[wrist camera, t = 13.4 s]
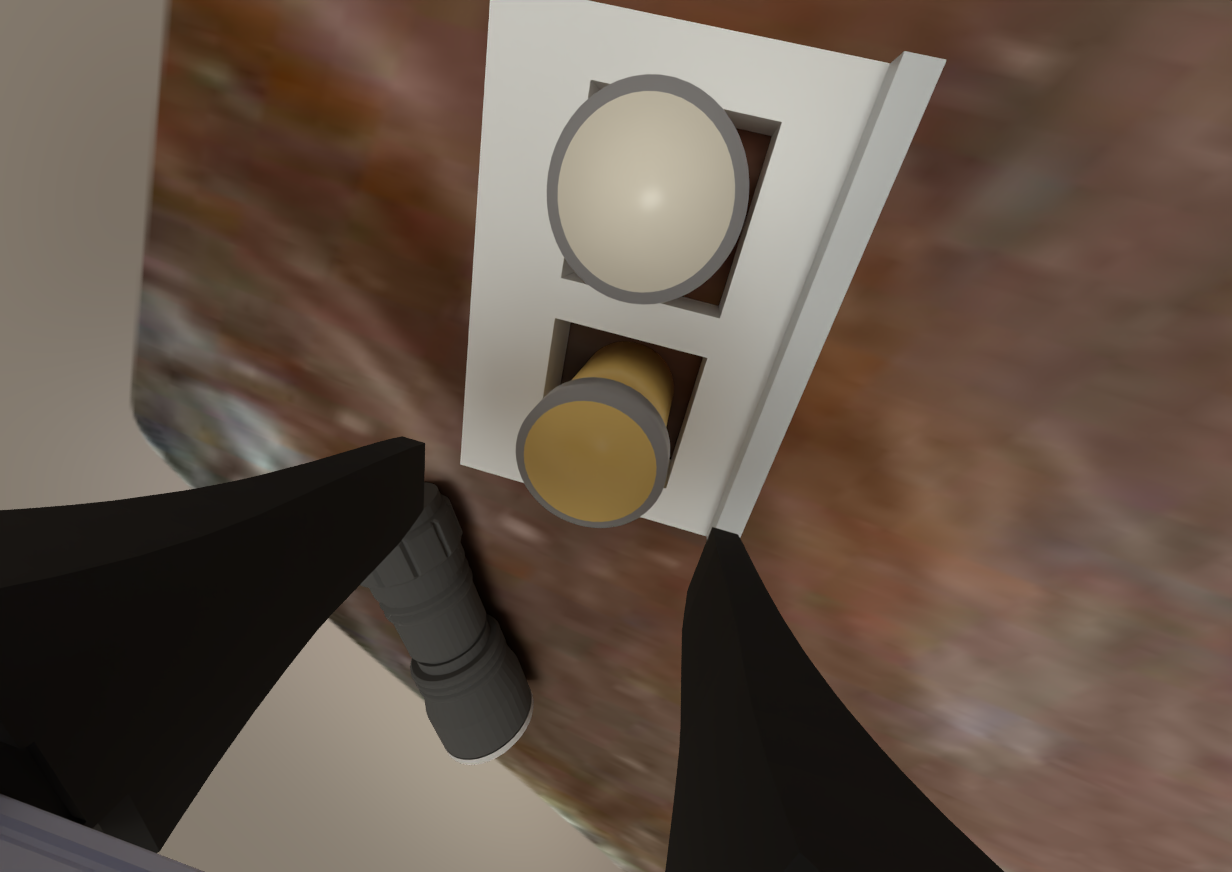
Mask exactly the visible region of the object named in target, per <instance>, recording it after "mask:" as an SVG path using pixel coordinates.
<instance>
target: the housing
mask: <svg viewBox="0 0 1232 872" xmlns="http://www.w3.org/2000/svg"><path fill="white" fill-rule="evenodd" d="M945 63H946V60H945V59H940V58H935V57H931V56H926V55H921V54H916V53H911V52H906V51H904V52H903V53H902V54H901V55H899V56H898V57H897V58H896V59H895V60H894V61H892V62H891V63H885V62H881V61H876V60H871V59H866V58H861V57H857V56H852V55H847V54H842V53H837V52H833V51H828V50H823V49H818V48H813V47H809V46H804V45H799V44H794V43H790V42H785V41H780V40H775V39H770V38H766V37H761V36H756V35H751V34H746V33H742V32H737V31H732V30H727V29H722V28H718V27H713V26H708V25H703V24H699V23H694V22H689V21H684V20H679V19H675V18H670V17H665V16H660V15H655V14H651V13H646V12H641V11H636V10H631V9H627V8H622V7H617V6H612V5H607V4H603V3H598V2H593V1H588V0H490V10H489V26H488V41H487V57H486V72H485V88H484V103H483V119H482V135H481V150H480V166H479V181H478V197H477V212H476V228H475V244H474V259H473V275H472V290H471V306H470V322H469V337H468V353H467V368H466V384H465V399H464V415H463V431H462V446H461V462H460V464H461V465H464V466H468V467H471V468H475V469H478V470H481V471H485V472H488V473H492V474H495V475H499V476H502V477H505V478H509V479H512V480H516V481H519V482H522V483H524V482H523V480H522V478H521V475H520V473H519V470H518V466H517V462H516V441H517V436H518V433H519V430H520V427H521V425H522V423H523V421H524V420H525V418H526V417H527V416H528V414H529V413H530V412H531V411H532V410H533V409H534V407H535V406H536V405H537V404H538V403H539V402H540V401H541V400H542V399H543V398H544V397H545V396H546V395H547V394H548V393H549V392H550V391H551V390H553V389H554V388H556V387H557V386H559V385H561V379H562V373H563V367H564V361H565V355H566V349H567V343H568V337H569V331H570V325H571V322H572V323H576V324H580V325H584V326H588V327H591V328H595V329H599V330H603V331H607V332H610V333H614V334H618V335H622V336H626V337H629V338H633V339H637V340H641V341H645V342H648V343H652V344H656V345H660V346H664V347H667V348H671V349H675V350H679V351H683V352H686V353H690V354H694V355H698V356H702V357H703V359H702V362H701V365H700V368H699V372H698V375H697V378H696V381H695V384H694V388H693V391H692V394H691V397H690V400H689V404H688V407H687V410H686V413H685V417H684V420H683V423H682V426H681V429H680V433H679V436H678V439H677V442H676V445H675V449H674V452H673V455H672V458H671V460H670V459H669V464H668V470H667V476H666V480H665V485H664V487H663V490H662V493H661V495H660V496H659V498H658V500H657V501H656V502H655V504H654V505H653V506H652V507H651V508H650V509H649V510H648V511H647V512H646V513H645V514H643V515H642V516H640V517H642V518H646V519H649V520H653V521H656V522H659V523H663V524H666V525H670V526H673V527H676V528H680V529H683V530H687V531H690V532H694V533H697V534H700V535H704V536H707V539H708V537H709V534H710V531H711V529H712V527H714V528H718V529H721V530H725V531H728V532H732V533H735V534H738V535H739V537H741V535H742V532H743V530H744V528H745V525H746V523H747V521H748V518H749V516H750V514H751V511H752V509H753V507H754V505H755V502H756V500H757V498H758V495H759V493H760V491H761V488H762V486H763V484H764V481H765V479H766V477H767V474H768V472H769V470H770V468H771V465H772V463H773V461H774V458H775V456H776V454H777V451H778V449H779V447H780V444H781V442H782V440H783V437H784V435H785V433H786V430H787V428H788V426H789V424H790V421H791V419H792V417H793V414H794V412H795V410H796V407H797V405H798V403H799V400H800V398H801V396H802V393H803V391H804V389H805V387H806V384H807V382H808V380H809V377H810V375H811V373H812V370H813V368H814V366H815V363H816V361H817V359H818V356H819V354H820V352H821V349H822V347H823V345H824V343H825V340H826V338H827V336H828V333H829V331H830V329H831V326H832V324H833V322H834V319H835V317H836V315H837V312H838V310H839V308H840V306H841V303H842V301H843V299H844V296H845V294H846V292H847V289H848V287H849V285H850V282H851V280H852V278H853V275H854V273H855V271H856V268H857V266H858V264H859V262H860V259H861V257H862V255H863V252H864V250H865V248H866V245H867V243H868V241H869V238H870V236H871V234H872V231H873V229H874V227H875V225H876V222H877V220H878V218H879V215H880V213H881V211H882V208H883V206H884V204H885V201H886V199H887V197H888V194H889V192H890V190H891V187H892V185H893V183H894V181H895V178H896V176H897V174H898V171H899V169H900V167H901V164H902V162H903V160H904V157H905V155H906V153H907V150H908V148H909V146H910V144H911V141H912V139H913V137H914V134H915V132H916V130H917V127H918V125H919V123H920V120H921V118H922V116H923V113H924V111H925V109H926V106H927V104H928V102H929V100H930V97H931V95H932V93H933V90H934V88H935V86H936V83H937V81H938V79H939V76H940V74H941V72H942V69H943V67H944V65H945ZM644 74H661V75H666V76H671V77H676V78H679V79H681V80H684V81H687V82H689V83H691V84H693V85H695V86H696V87H698V88H700V89H702V90H703V91H704V92H706V93H707V94H708V95H709V96H711V97H712V98H713V99H714V100H715V101H716V102H717V103H718V104H719V105H720V106H721V107H722V108H723V109H724V111H725V112H726V114H727V115H728V117H729V118H730V119H731V121H732V122H733V124H734V126H735V128H738V129H742V130H747V131H751V132H756V133H760V134H765V135H769V136H772V137H771V140H770V144H769V147H768V150H767V153H766V156H765V160H764V163H763V166H762V169H761V172H760V176H759V179H758V182H757V185H756V188H755V192H754V195H753V198H752V201H751V205H750V208H749V211H748V214H747V217H746V221H745V224H744V227H743V230H742V233H741V237H740V240H739V243H738V246H737V250H736V253H735V256H734V259H733V262H732V266H731V269H730V272H729V275H728V278H727V282H726V285H725V288H724V291H723V294H722V298H721V301H720V304H719V306H717V305H713V304H709V303H705V302H702V301H698V300H694V299H690V298H686V297H682V296H681V297H679V298H677V299H674V300H670V301H667V302H663V303H657V304H643V305H642V304H631V303H626V302H622V301H618V300H615V299H613V298H610V297H607V296H605V295H604V294H602V293H600V292H598V291H596V290H595V289H593V288H592V287H591V286H589V285H588V284H587V283H585V282H584V281H583V280H582V279H581V278H580V277H579V276H578V275H577V274H576V273H575V272H574V270H573V269H572V268H571V267H570V266H569V264H568V263H567V261H566V259H565V258H564V256H563V255H562V253H561V251H560V249H559V247H558V245H557V243H556V240H555V238H554V235H553V232H552V229H551V225H550V221H549V216H548V208H547V178H548V171H549V166H550V162H551V157H552V154H553V151H554V149H555V146H556V143H557V141H558V139H559V137H560V135H561V133H562V131H563V129H564V127H565V126H566V124H567V123H568V121H569V120H570V118H571V117H572V115H573V114H574V113H575V112H576V111H577V109H578V108H579V107H580V106H581V105H582V104H583V103H584V102H585V101H586V100H587V99H589V98H590V97H591V96H592V95H593V94H595V93H596V92H598V91H599V90H601V89H602V88H604V87H605V86H607V85H609V84H611V83H614V82H616V81H618V80H621V79H624V78H627V77H631V76H637V75H644Z"/></svg>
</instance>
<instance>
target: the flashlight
mask: <svg viewBox="0 0 1232 872" xmlns="http://www.w3.org/2000/svg"><path fill="white" fill-rule="evenodd" d="M462 534H463V532H462V529H461V527H460V524H459V522H458V519H457V517H456V515H455V512H454V510H453V507H452V505H451V502H450V500H449V499H448V498H447V497H446V496H444V495H442V494H440V492H439V490H438V488H437V486H436V485H434V484H432V483H427V482H424V510H423V511H422V513H421V514H420V516H419V517H418V519H417V520H416V521H415V523H414V524H413V526H412V527H411V529H410V530H409V531H408V533H407V534H406V535H405V537H404V538H403V539H402V540H401V542H400V543H399V544H398V545H397V546H396V547H395V548H394V550H393V551H392V552H391V553H390V554H389V555H388V556H387V557H386V558H385V559H384V560H383V561H382V562H381V563H380V564H379V565H378V566H377V567H376V569H375V570H374V571H373V572H372V573H371V574H370V575H369V576H368V577H367V578H366V579H365V580H364V581H363V582H362V583H361V584H360V585H361V586H364V587H368V588H369V589H370V590H371V592H372V594H373V596H374V598H375V599H376V600H377V601H379V604H380V607H381V609H382V610H383V611H384V614H385V617H386V618H387V619H388V620H389V621H390V622H392V623H393V624H394V626H395V628H396V629H397V631H398V633H399V635H400V637H401V639H402V641H403V643H404V645H405V646H406V648H407V650H408V652H409V654H410V656H411V657H412V660H411V666H410V669H411V675H412V678H413V680H414V681H415V683H416V686H417V687H418V688H419V691H420V693H421V694H422V695H423V696H424V699H425V705H426V712H427V715H428V718H429V720H430V722H431V723H432V725H433V727H434V729H435V731H436V733H437V734H438V736H439V738H440V740H441V742H442V743H443V745H444V747H445V749H446V751H447V753H448V754H449V755H450V757H451V758H452V759H454V760H455V761H457V762H459V763H461V764H466V765H475V764H482V763H485V762H488V761H490V760H493V759H495V758H497V757H498V756H500V755H502V754H503V753H504V752H506V751H507V750H508V749H509V748H511V747H512V746H513V745H514V744H515V743H516V742H517V741H518V739H519V738H520V737H521V736H522V734H523V733H524V731H525V730H526V728H527V726H528V724H529V722H530V719H531V716H532V713H533V707H534V700H533V695H532V692H531V690H530V688H529V685H528V683H527V680H526V678H525V675H524V673H523V670H522V668H521V666H520V663H519V661H518V658H517V656H516V655H515V653H514V652H513V651H512V650H511V649H510V648H509V647H508V646H507V644H506V640H505V637H504V636H503V633H502V630H501V629H500V626H499V623H498V622H497V620H496V619H495V618H493V617H492V616H490V615H488V614H486V611H485V609H484V606H483V604H482V602H481V599H480V597H479V595H478V592H477V590H476V587H475V585H474V583H473V580H472V579H473V577H472V570H471V568H470V567H469V566H468V561H467V559H466V558H465V552H464V549H463V547H462V545H461V542H460V541H461V536H462Z"/></svg>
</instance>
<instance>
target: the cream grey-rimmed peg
mask: <svg viewBox="0 0 1232 872" xmlns="http://www.w3.org/2000/svg"><path fill="white" fill-rule="evenodd" d="M748 200H749V172H748V164H747V159H746V154H745V150H744V148H743V145H742V142H741V139H740V136H739V134H738V132H737V130H736V128H735V126H734V124H733V122H732V121H731V119H730V118H729V117H728V115H727V114H726V112H725V111H724V109H723V108H722V107H721V106H720V105H719V104H718V103H717V102H716V101H715V100H714V99H713V98H712V97H711V96H709V95H708V94H707V93H706V92H704V91H703V90H702V89H700V88H698V87H696V86H695V85H693V84H691V83H689V82H687V81H684V80H681V79H679V78H676V77H671V76H666V75H661V74H644V75H637V76H631V77H627V78H624V79H621V80H618V81H616V82H614V83H611V84H609V85H607V86H605V87H604V88H602V89H601V90H599V91H598V92H596V93H595V94H593V95H592V96H591V97H590V98H589V99H587V100H586V101H585V102H584V103H583V104H582V105H581V106H580V107H579V108H578V109H577V111H576V112H575V113H574V114H573V115H572V117H571V118H570V120H569V121H568V123H567V124H566V126H565V127H564V129H563V131H562V133H561V135H560V137H559V139H558V141H557V143H556V146H555V149H554V151H553V154H552V157H551V162H550V166H549V171H548V178H547V208H548V216H549V221H550V225H551V229H552V232H553V235H554V238H555V240H556V243H557V245H558V247H559V249H560V251H561V253H562V255H563V256H564V258H565V259H566V261H567V263H568V264H569V266H570V267H571V268H572V269H573V270H574V272H575V273H576V274H577V275H578V276H579V277H580V278H581V279H582V280H583V281H584V282H585V283H587V284H588V285H589V286H591V287H592V288H593V289H595V290H596V291H598V292H600V293H602V294H604V295H605V296H607V297H610V298H613V299H615V300H618V301H622V302H626V303H631V304H642V305H643V304H657V303H663V302H667V301H670V300H674V299H677V298H679V297H681V296H684V295H686V294H688V293H690V292H691V291H693V290H695V289H696V288H698V287H699V286H701V285H702V284H703V283H704V282H706V281H707V280H708V279H709V278H710V277H711V276H712V275H713V274H714V273H715V272H716V271H717V270H718V269H719V268H720V267H721V265H722V264H723V263H724V261H725V260H726V259H727V257H728V256H729V254H730V253H731V251H732V249H733V247H734V246H735V244H736V242H737V239H738V237H739V235H740V232H741V230H742V227H743V223H744V220H745V216H746V212H747V206H748Z"/></svg>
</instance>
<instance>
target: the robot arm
mask: <svg viewBox="0 0 1232 872" xmlns="http://www.w3.org/2000/svg"><path fill="white" fill-rule="evenodd" d="M424 471H425V443H423V442H419V441H416V440H413V439H409V438H406V437H397V438H392V439H388V440H385V441H381V442H377V443H374V444H370V445H367V446H363V447H360V448H357V449H353V450H350V451H347V452H343V453H340V454H336V455H333V456H330V457H326V458H323V459H319V460H316V461H313V462H309V463H305V464H301V465H298V466H294V467H290V468H286V469H282V470H278V471H275V472H271V473H267V474H263V475H259V476H255V477H251V478H246V479H242V480H237V481H233V482H228V483H223V484H217V485H212V486H207V487H202V488H197V489H191V490H185V491H179V492H172V493H165V494H158V495H150V496H144V497H137V498H130V499H123V500H115V501H107V502H97V503H87V504H77V505H66V506H55V507H42V508H29V509H14V510H0V872H204V871H201V870H199V869H196V868H193V867H191V866H188V865H186V864H183V863H180V862H178V861H175V860H173V859H170V858H167V857H165V856H162V855H159V854H157V853H158V852H159V851H160V850H161V848H162V847H163V845H164V844H165V842H166V841H167V839H168V837H169V836H170V834H171V833H172V831H173V830H174V828H175V826H176V825H177V823H178V822H179V820H180V819H181V817H182V816H183V814H184V813H185V811H186V810H187V808H188V807H189V805H190V804H191V802H192V801H193V799H194V798H195V796H196V795H197V793H198V792H199V790H200V789H201V787H202V786H203V784H204V783H205V781H206V780H207V778H208V777H209V775H210V774H211V772H212V771H213V769H214V768H215V766H216V765H217V764H218V762H219V761H220V759H221V758H222V757H223V755H224V754H225V752H226V751H227V749H228V748H229V747H230V745H231V743H232V742H233V741H234V740H235V738H236V737H237V735H238V734H239V733H240V731H241V730H242V728H243V727H244V725H245V724H246V722H247V721H248V720H249V718H250V717H251V716H252V714H253V713H254V711H255V710H256V709H257V707H258V706H259V705H260V703H261V702H262V701H263V700H264V698H265V697H266V696H267V694H268V693H269V691H270V690H271V689H272V688H273V686H274V685H275V684H276V682H277V681H278V680H279V678H280V677H281V676H282V674H283V673H284V672H285V670H286V669H287V668H288V666H289V665H290V664H291V663H292V661H293V660H294V659H295V658H296V656H297V655H298V654H299V653H300V651H301V650H302V649H303V647H304V646H305V645H306V644H307V642H308V641H309V640H310V639H311V637H312V636H313V635H314V634H315V632H316V631H317V630H318V629H319V628H320V627H321V625H322V624H323V623H324V622H325V621H326V620H327V619H328V618H329V616H330V615H331V614H332V613H333V612H334V611H335V610H336V609H337V608H338V607H339V606H340V605H341V604H342V603H343V602H344V601H345V600H346V599H347V598H348V597H349V595H350V594H351V593H352V592H353V591H354V590H355V589H356V588H357V587H358V586H359V585H360V584H361V583H362V582H363V581H364V580H365V579H366V578H367V577H368V576H369V575H370V574H371V573H372V572H373V571H374V570H375V569H376V567H377V566H378V565H379V564H380V563H381V562H382V561H383V560H384V559H385V558H386V557H387V556H388V555H389V554H390V553H391V552H392V551H393V550H394V548H395V547H396V546H397V545H398V544H399V543H400V542H401V540H402V539H403V538H404V537H405V535H406V534H407V533H408V531H409V530H410V529H411V527H412V526H413V524H414V523H415V521H416V520H417V519H418V517H419V516H420V514H421V513H422V511H423V510H424ZM665 872H1004V871H1003V870H1002V869H1001V868H1000V867H999V866H998V865H996V864H995V863H994V862H993V861H992V860H991V859H990V858H989V857H988V856H987V855H986V854H985V853H984V852H983V851H982V850H981V849H980V848H979V847H977V846H976V845H975V844H974V843H973V842H972V841H971V840H970V839H969V838H968V837H967V836H966V835H965V834H964V833H963V832H962V831H961V830H960V829H958V828H957V827H956V826H955V825H954V824H953V823H952V822H951V821H950V820H949V819H948V818H947V817H946V816H945V815H944V814H943V813H942V812H941V811H940V810H939V809H938V808H937V807H936V806H935V805H934V804H933V803H932V802H931V801H930V800H929V799H928V798H927V797H926V796H925V795H924V794H923V793H922V792H921V790H920V789H919V788H918V787H917V786H916V785H915V784H914V783H913V782H912V781H911V780H910V779H909V778H908V777H907V776H906V775H905V774H904V773H903V772H902V771H901V770H900V769H899V767H898V766H897V765H896V764H895V763H894V762H893V761H892V760H891V759H890V758H889V756H888V755H887V754H886V753H885V752H884V751H883V750H882V749H881V748H880V747H879V745H878V744H877V743H876V742H875V741H874V740H873V738H872V737H871V736H870V735H869V734H868V733H867V731H866V730H865V729H864V728H863V727H862V726H861V724H860V723H859V722H858V721H857V720H856V719H855V717H854V716H853V715H852V714H851V713H850V711H849V710H848V709H847V708H846V707H845V705H844V704H843V703H842V702H841V700H840V699H839V698H838V697H837V695H836V694H835V693H834V691H833V690H832V689H831V687H830V686H829V685H828V683H827V682H826V681H825V679H824V678H823V677H822V675H821V674H820V673H819V671H818V670H817V669H816V667H815V666H814V665H813V663H812V662H811V660H810V659H809V658H808V656H807V655H806V653H805V652H804V650H803V649H802V647H801V646H800V644H799V643H798V641H797V640H796V638H795V637H794V635H793V633H792V632H791V630H790V629H789V627H788V626H787V624H786V623H785V621H784V619H783V618H782V616H781V614H780V613H779V611H778V609H777V607H776V605H775V604H774V602H773V600H772V598H771V597H770V595H769V593H768V591H767V590H766V588H765V586H764V584H763V582H762V580H761V578H760V576H759V574H758V572H757V571H756V569H755V567H754V565H753V563H752V561H751V559H750V557H749V555H748V553H747V551H746V549H745V547H744V545H743V543H742V541H741V539H740V537H739V535H738V534H735V533H732V532H728V531H725V530H721V529H718V528H714V527H712V529H711V531H710V534H709V537H708V539H707V542H706V544H705V547H704V549H703V552H702V554H701V557H700V560H699V562H698V565H697V567H696V570H695V572H694V575H693V578H692V580H691V583H690V585H689V588H688V591H687V598H686V605H685V612H684V620H683V628H682V664H681V729H680V747H679V758H678V768H677V777H676V786H675V796H674V805H673V813H672V821H671V830H670V838H669V847H668V855H667V863H666V871H665Z"/></svg>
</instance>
